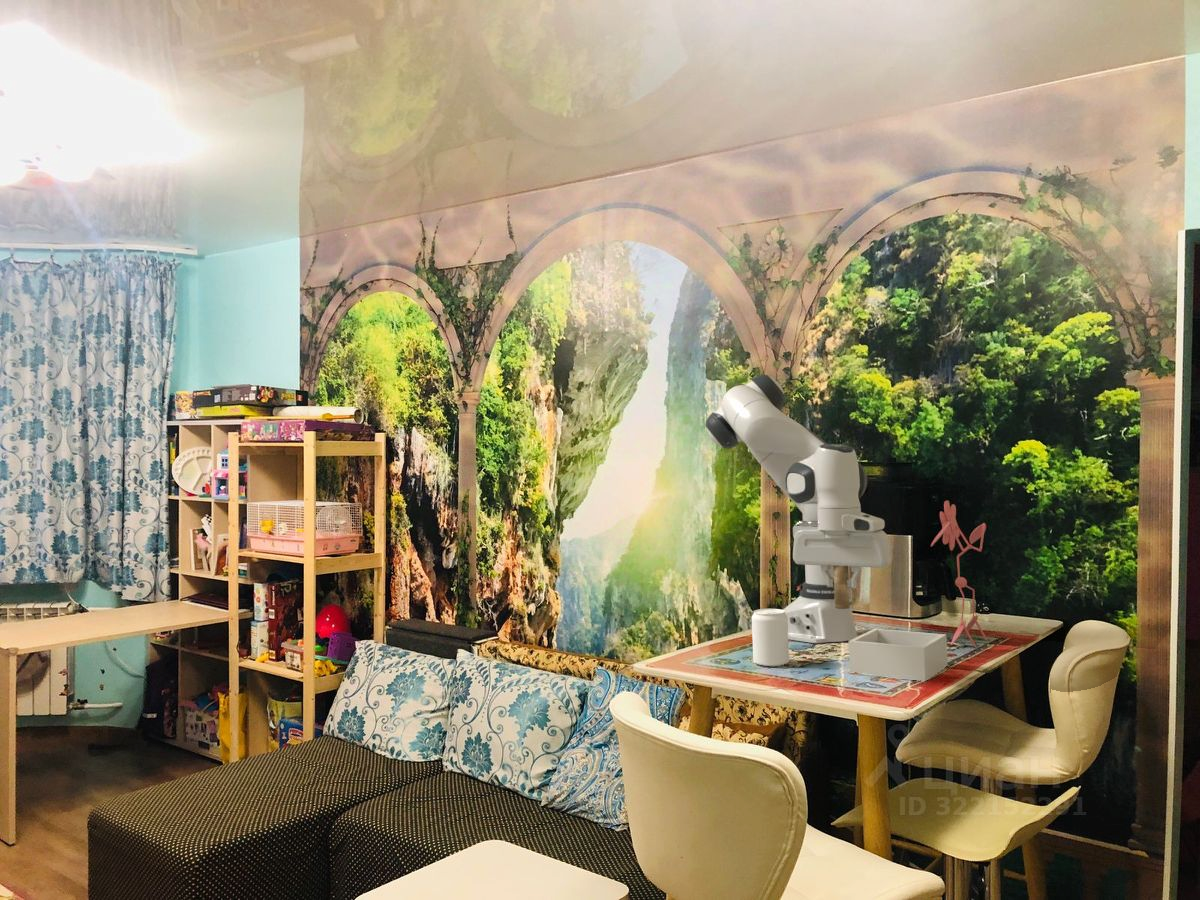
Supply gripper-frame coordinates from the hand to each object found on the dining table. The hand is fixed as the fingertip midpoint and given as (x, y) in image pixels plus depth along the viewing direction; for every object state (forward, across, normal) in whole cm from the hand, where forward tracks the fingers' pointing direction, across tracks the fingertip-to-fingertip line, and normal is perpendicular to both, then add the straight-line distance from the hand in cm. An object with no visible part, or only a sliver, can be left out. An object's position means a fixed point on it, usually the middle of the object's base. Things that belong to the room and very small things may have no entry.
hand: (841, 587), depth 189 cm
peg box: (+20, +7, +14) cm, 25 cm away
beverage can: (+20, -20, +8) cm, 30 cm away
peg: (+4, 0, 0) cm, 4 cm away
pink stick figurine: (+20, +9, +50) cm, 54 cm away
